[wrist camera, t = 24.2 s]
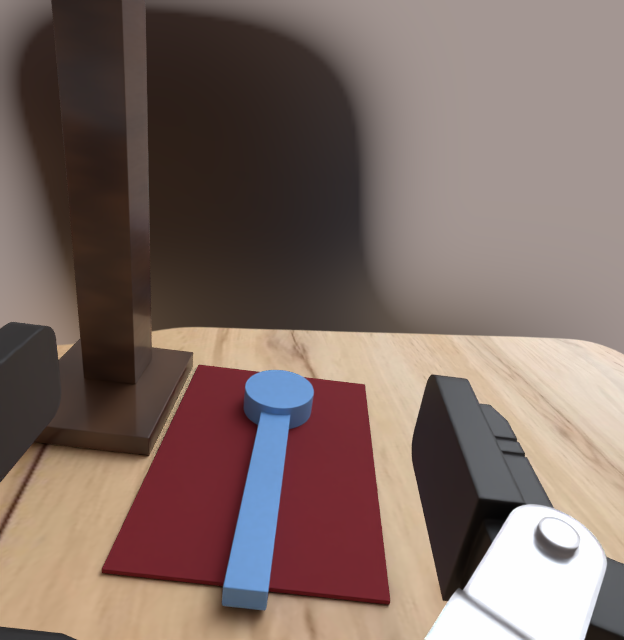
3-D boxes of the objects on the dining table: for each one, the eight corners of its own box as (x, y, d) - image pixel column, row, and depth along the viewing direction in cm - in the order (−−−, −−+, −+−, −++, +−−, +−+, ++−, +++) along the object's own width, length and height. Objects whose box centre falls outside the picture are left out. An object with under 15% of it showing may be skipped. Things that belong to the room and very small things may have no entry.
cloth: (101, 573, 26) (101, 569, 26) (198, 367, 45) (198, 364, 45) (389, 604, 26) (390, 601, 26) (364, 387, 45) (364, 384, 45)
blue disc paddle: (189, 602, 25) (189, 574, 24) (248, 386, 43) (250, 366, 42) (298, 614, 25) (302, 587, 24) (312, 394, 43) (314, 374, 42)
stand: (-4, 443, 33) (-122, -199, 20) (83, 350, 45) (46, -92, 32) (146, 461, 34) (130, -163, 20) (194, 363, 45) (204, -71, 32)
